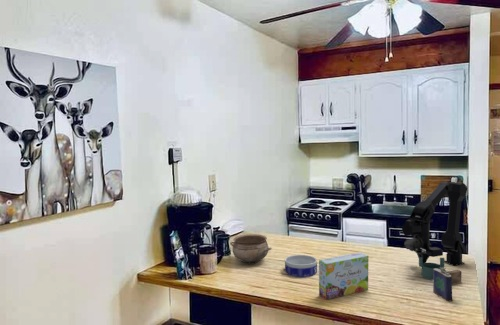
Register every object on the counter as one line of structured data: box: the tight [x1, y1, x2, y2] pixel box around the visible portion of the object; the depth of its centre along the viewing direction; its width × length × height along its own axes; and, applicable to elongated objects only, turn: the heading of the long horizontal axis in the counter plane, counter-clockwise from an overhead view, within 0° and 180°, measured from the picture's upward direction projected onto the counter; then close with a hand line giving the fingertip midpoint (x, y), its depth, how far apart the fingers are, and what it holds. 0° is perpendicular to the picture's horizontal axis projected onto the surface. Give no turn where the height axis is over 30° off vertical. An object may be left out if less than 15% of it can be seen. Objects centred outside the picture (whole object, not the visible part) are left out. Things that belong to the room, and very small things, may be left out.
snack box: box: [318, 252, 369, 301], centre depth 157 cm, size 21×6×15 cm, turn 114°
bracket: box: [418, 257, 446, 281], centre depth 171 cm, size 9×9×9 cm
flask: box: [432, 267, 453, 302], centre depth 151 cm, size 10×3×12 cm, turn 8°
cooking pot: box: [229, 233, 273, 265], centre depth 200 cm, size 25×19×12 cm
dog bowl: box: [284, 254, 318, 278], centre depth 183 cm, size 15×15×6 cm
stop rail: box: [446, 269, 462, 285], centre depth 163 cm, size 12×2×5 cm, turn 107°
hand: (422, 265), depth 177 cm, fingers closed
